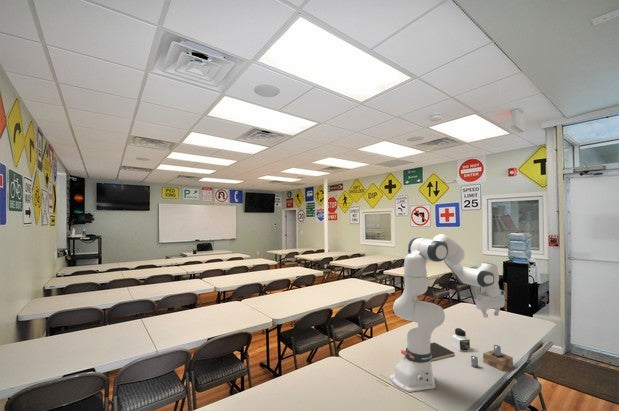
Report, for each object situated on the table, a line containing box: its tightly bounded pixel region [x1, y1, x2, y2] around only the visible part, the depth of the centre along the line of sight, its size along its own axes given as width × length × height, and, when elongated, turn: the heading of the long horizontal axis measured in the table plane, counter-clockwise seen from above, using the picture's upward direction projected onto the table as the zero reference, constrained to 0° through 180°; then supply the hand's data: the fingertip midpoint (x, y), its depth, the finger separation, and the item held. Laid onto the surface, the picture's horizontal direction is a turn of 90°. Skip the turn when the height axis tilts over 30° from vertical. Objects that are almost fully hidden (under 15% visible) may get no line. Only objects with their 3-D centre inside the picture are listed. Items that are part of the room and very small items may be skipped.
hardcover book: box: [405, 342, 455, 362], centre depth 167 cm, size 16×23×2 cm
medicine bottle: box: [451, 327, 471, 352], centre depth 173 cm, size 7×7×12 cm
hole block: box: [482, 349, 514, 372], centre depth 154 cm, size 10×10×5 cm
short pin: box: [470, 355, 479, 369], centre depth 151 cm, size 3×3×5 cm
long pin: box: [493, 344, 502, 358], centre depth 154 cm, size 3×3×10 cm
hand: (490, 316), depth 155 cm, fingers open, 8 cm apart
